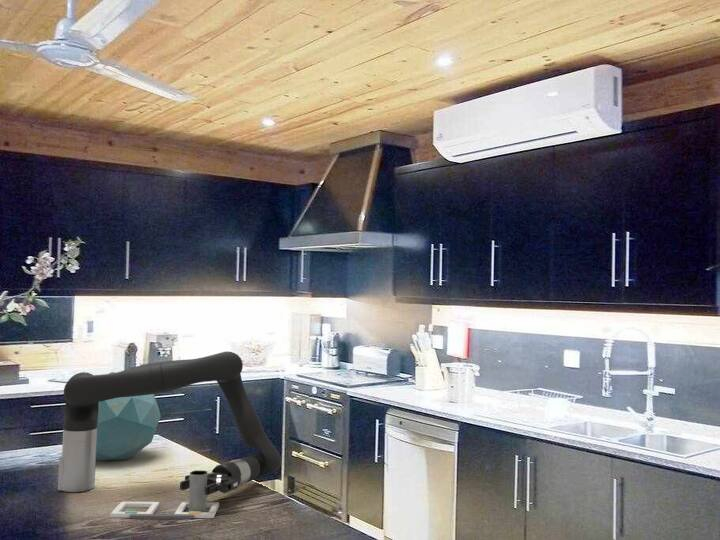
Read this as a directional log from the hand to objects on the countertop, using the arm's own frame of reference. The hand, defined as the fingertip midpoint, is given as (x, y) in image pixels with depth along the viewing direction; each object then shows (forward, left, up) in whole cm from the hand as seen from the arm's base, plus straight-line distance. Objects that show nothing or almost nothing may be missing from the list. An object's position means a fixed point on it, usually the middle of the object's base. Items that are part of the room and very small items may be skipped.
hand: (193, 488), depth 176 cm
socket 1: (-15, +2, -7) cm, 16 cm away
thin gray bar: (-7, -4, -7) cm, 10 cm away
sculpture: (-37, +59, -7) cm, 70 cm away
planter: (+1, +2, -7) cm, 7 cm away
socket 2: (+1, +2, -7) cm, 7 cm away
